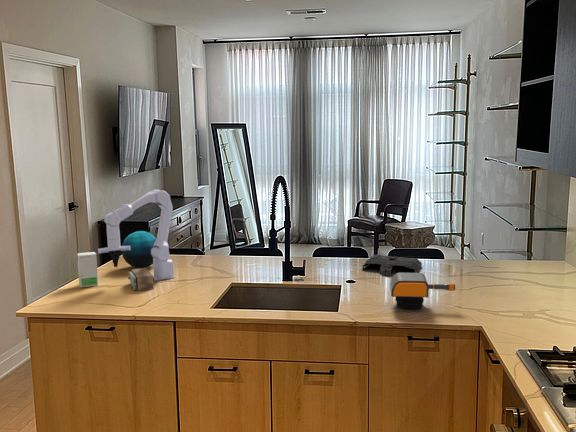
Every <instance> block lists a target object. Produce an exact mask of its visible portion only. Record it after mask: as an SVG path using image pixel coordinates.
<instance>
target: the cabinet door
mask: <svg viewBox="0 0 576 432" xmlns="http://www.w3.org/2000/svg"><path fill="white" fill-rule="evenodd" d="M128 273H129V276H128V277H127V279H128V280H129V282H130V283H129V284H130V286H131V287H132V288H133V289H132V290H134V291H138V290H137V286H136V277H135V276H134V274H133V272H132V271H129V272H128Z"/></svg>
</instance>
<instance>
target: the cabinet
mask: <svg viewBox="0 0 576 432" xmlns="http://www.w3.org/2000/svg"><path fill="white" fill-rule="evenodd" d="M131 272H133V274H134V276H135V277H136V286H137V290H136V291H138V292H140V291H147V290H154V278H153V276H154V274H152V273H151V272H150V271H149V269H148V267H146V268H133V269H131Z"/></svg>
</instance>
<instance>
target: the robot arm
mask: <svg viewBox="0 0 576 432" xmlns="http://www.w3.org/2000/svg"><path fill="white" fill-rule="evenodd" d="M149 203H154V204H156V205H158V207H159V208H160V209H161V210H160V217H159V223H158V229H157V235H156V239H157V240H156V241H155V243H154V246H153V248H152V249H151V255H152V257H153V264H152V265H153V268H152V269H153V281H158V280H166V279H174V278H175V276H174V262H173V260H172V259H170V249H169V248H170V247H169V243H168V239H169V233H170V228H171V221H172V216H173V209H174V207H173V203H172V200H171V195H170V194H169V193H168V192H167V191H166V190H163V189H161V190H160V189H157V188H155V189H154V188H153V189H151V190H150V191H147V193H145V194H144V195H142V196H141V197H139V198H138V199H136V200H134V201H133V202H131V203H130V204H128V203H125V204H124V203H123V204H121V205H120V207H118V208H117V209H113V210H112V212H109V213H107V214H105V216H104V219H103V221H104V223H105V224H106V237H107V241H106V242H107V247H101V248H97V253H98V254H105V253H108V254H109V256H110V258H111V260H112V264H113V267H114V268H118V266H119V265H118V264H119V260H120V256H121V254H122V251H125V250H131V247H130V246H122V245H121V231H120V224H121V222H122V221H124V220H126V219H127V218H129V217H130V216H132V215H133V214H134V211H136V210H137V209H138V208H140V207H142V206H143V207H144V206H145V205H146V204H149Z"/></svg>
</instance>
